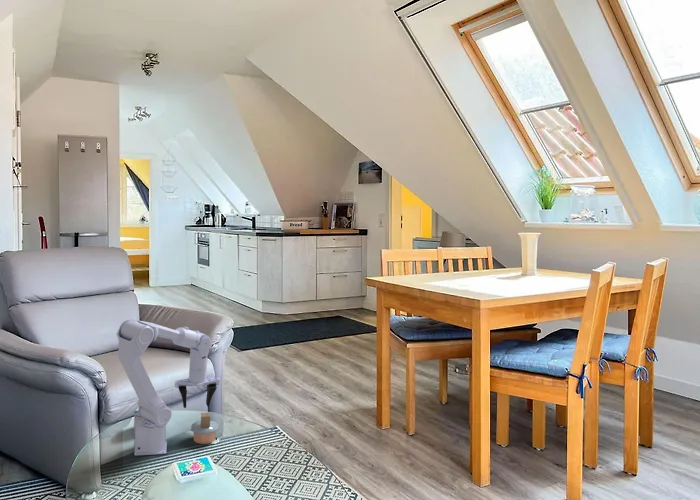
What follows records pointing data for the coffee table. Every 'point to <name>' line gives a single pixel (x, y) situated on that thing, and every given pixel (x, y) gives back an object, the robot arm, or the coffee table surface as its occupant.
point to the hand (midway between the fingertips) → (196, 405)
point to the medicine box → (137, 419)
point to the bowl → (204, 438)
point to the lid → (204, 425)
